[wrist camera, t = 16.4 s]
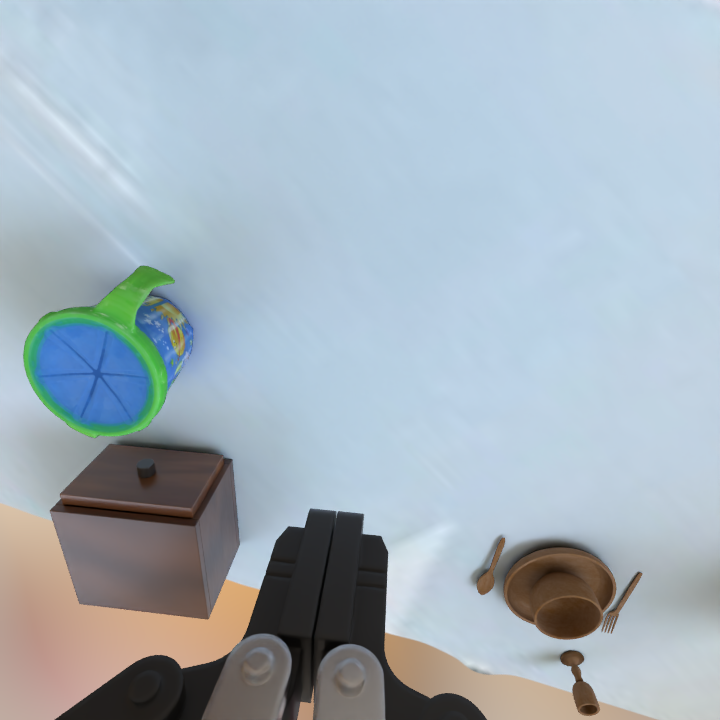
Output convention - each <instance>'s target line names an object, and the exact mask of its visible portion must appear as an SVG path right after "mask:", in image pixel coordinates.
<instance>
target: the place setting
mask: <svg viewBox="0 0 720 720" xmlns="http://www.w3.org/2000/svg"><path fill="white" fill-rule="evenodd" d="M504 543H505V538H502V539H501V541H500V542H499V544H498V547H497V549H496V552H495V555H494V558H493V561H492V563H491V566H490V568H489V570H488V572H487V573H485V574H483V575H482V576H481V577H480V578H479V580H478V582H477V589H478V592H479V593H480V594H481V595H484V594H486V593H488V592H489V591H490V590H491V589H492V588H493V586H494V577H493V571H494V568H495V565H496V563H497V561H498V559H499V556H500V554H501V552H502V549H503V547H504ZM641 576H642V573H639V574H638V575H637V576H636V578H635V579H634V580H633V582H632V584H631V585H630V587H629V588H628V590H627V592H626V593H625V595H624V597H623V598H622V600H621V602H620V603H619V605H618V607H617V608H616V610H615V611H611V612H609V613H608V614H607V616H606V618H605V621H604V624H603V628H602V631H603V629H604V626H605V623H606V621H607V618H608V616H609V615H610V617H609V619H608V622H607V625H606V629H605V632H606V630H607V627H608V624H609V622H610V619H611V617H612V616H613V618H612V620H611V623H610V626H609V629H608V633H609V631H610V628H611V625H612V623H613V620H614V617H615V616H616V619H615V621H614V624H613V627H612V630H611V633H612V631H613V629H614V626H615V624H616V621H617V618H618V616H619V614H618V613H619V612H620V610H621V609H622V607H623V605H624V604H625V602H626V601H627V599H628V597H629V596H630V594H631V593H632V591H633V589H634V588H635V586H636V585H637V583H638V581H639V580H640V578H641ZM615 594H616V582H615V579H614V577H613V575H612V573H611V571H610V570H609V569H608V567H607V566H606V565H605V564H604V563H603V562H602V561H601V560H599V559H598V558H597V557H595V556H593V555H591V554H589V553H587V552H584V551H581V550H578V549H573V548H563V547H557V548H547V549H542V550H539V551H536V552H533V553H531V554H528V555H527V556H525V557H523V558H522V559H520V560H519V561H518V562H516V563H515V564H514V565H513V566H512V568H511V569H510V570H509V572H508V574H507V576H506V578H505V581H504V597H505V601H506V603H507V605H508V607H509V609H510V610H511V611H512V612H513V613H514V614H515V615H516V616H518V617H519V618H521V619H522V620H524V621H526V622H529V623H531V624H534V625H536V627H537V628H538V629H539V630H540V631H541V632H542V633H544V634H545V635H547V636H550V637H553V638H557V639H565V640H566V639H577V638H581V637H584V636H587V635H589V634H591V633H592V632H594V631H595V630H596V629H597V628H598V627H599V626H600V624H601V622H602V620H603V612H604V611H605V610H606V609H607V608H608V607H609V606H610V605H611V603H612V602H613V600H614V597H615ZM560 660H561V662H562V663H563V664H564V665H567V666H572V668H571V671H572V673H573V675H574V676H575V680H576V683H575V684H574V685H573V696H574V700H575V703H576V707H577V709H578V712H579V713H580V714H582V715H586V716H591V715H595V714H597V713H598V712H599V711H600V708H599V704H598V701H597V699H596V696H595V694H594V691H593V689H592V688H591V686H590V685H589V684H588V683H586V682H583V679H582V678H581V670H580V668H579V667H578V666H577V665H580V664H581V663H582V662H583V661H584V657H583V655H582V654H581V653H579V652H577V651H568V652H565V653H563V654H562V655H561V657H560Z"/></svg>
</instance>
